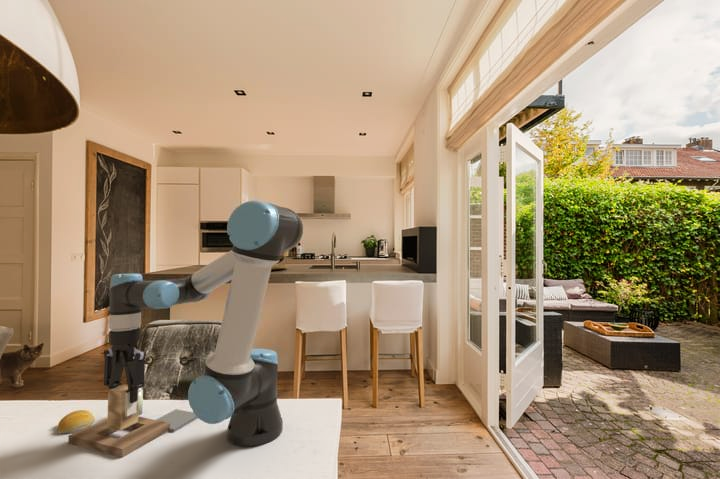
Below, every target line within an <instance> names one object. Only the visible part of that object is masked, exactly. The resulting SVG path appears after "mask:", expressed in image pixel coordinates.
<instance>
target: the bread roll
mask: <svg viewBox="0 0 720 479" xmlns="http://www.w3.org/2000/svg"><path fill="white" fill-rule="evenodd" d="M94 422H95V416H94V414H93V413H92V412H90V411H89V410H83V409H82V410H80V409H79V410H75V411H71V412H70V413H68V414H66V415H65V416H63V417H62V418H61V419H60V421H59V422H58V425H57V427H58V428H57V432H58V433H60V434H73V433H75V432H78V431H80V430H82V429H84V428H87V427H89V426H91V425H93V424H94Z"/></svg>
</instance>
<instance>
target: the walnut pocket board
mask: <svg viewBox="0 0 720 479" xmlns="http://www.w3.org/2000/svg"><path fill="white" fill-rule="evenodd" d="M107 420H108V417H107V418H105V419H102V420H100V421H98V422H96V423H93V424H92V425H91V426H89V427H87V428H84V429H82V430H80V431H78V432H74V433H70V434H69V435H68V438H67V439H68V440H67V443H68V444H70V445H73V446H77V447H81V448H85V449H88V450H89V449H90V450H93V451H97V452H101V453H105V454H108V455H113V456H114V457H115V456H116V457H120V458H123V457H125V456H127V455H129V454H131V453H132V452H134V451H136V450H138V449H139V448H142V447H143V446H145V445H147V444H148V443H150V442H152V441H153V440H155V439H157V438H159V437H160V436H162V435H165V433H168V432H170V431H169V428H170V423H168V422H163V421H158V420H156V419H152V418H147V417H143V416H140V415H139V416H138V422H137V423H135V424H133V425H131V426H129V427H127V428H126V429H131V430H132V431H130V432H128V433H126V434H124V435H122V436H120V437H118V438H115V437H112V436H111V437H110V436H109V435H111V434H114V433H116V432H117V431H119V430H115V429H110V428H107Z"/></svg>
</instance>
